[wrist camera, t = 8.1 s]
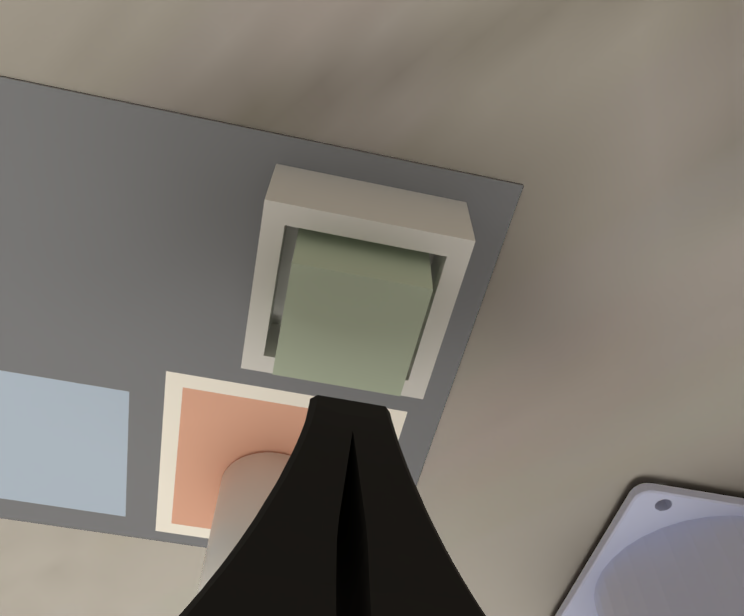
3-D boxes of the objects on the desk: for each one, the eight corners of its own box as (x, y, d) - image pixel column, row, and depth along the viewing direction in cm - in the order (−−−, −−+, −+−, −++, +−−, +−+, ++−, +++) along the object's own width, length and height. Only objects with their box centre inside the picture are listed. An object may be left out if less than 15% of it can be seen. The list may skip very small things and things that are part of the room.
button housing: (466, 201, 17) (475, 241, 15) (419, 351, 19) (422, 399, 18) (276, 163, 16) (264, 199, 15) (252, 321, 19) (240, 368, 17)
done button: (428, 248, 16) (433, 289, 15) (398, 349, 18) (400, 396, 16) (299, 223, 16) (291, 262, 14) (281, 329, 18) (272, 374, 16)
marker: (334, 459, 22) (324, 712, 16) (314, 529, 24) (298, 779, 17) (224, 442, 21) (167, 695, 15) (212, 515, 23) (157, 767, 17)
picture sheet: (516, 169, 18) (523, 185, 17) (384, 549, 26) (384, 573, 25) (-119, 35, 16) (-147, 46, 15) (-45, 486, 24) (-61, 509, 23)
